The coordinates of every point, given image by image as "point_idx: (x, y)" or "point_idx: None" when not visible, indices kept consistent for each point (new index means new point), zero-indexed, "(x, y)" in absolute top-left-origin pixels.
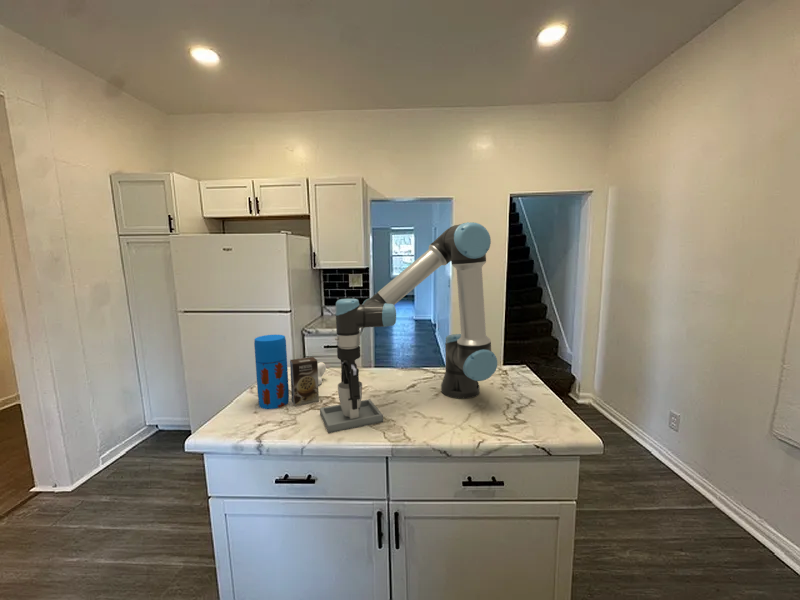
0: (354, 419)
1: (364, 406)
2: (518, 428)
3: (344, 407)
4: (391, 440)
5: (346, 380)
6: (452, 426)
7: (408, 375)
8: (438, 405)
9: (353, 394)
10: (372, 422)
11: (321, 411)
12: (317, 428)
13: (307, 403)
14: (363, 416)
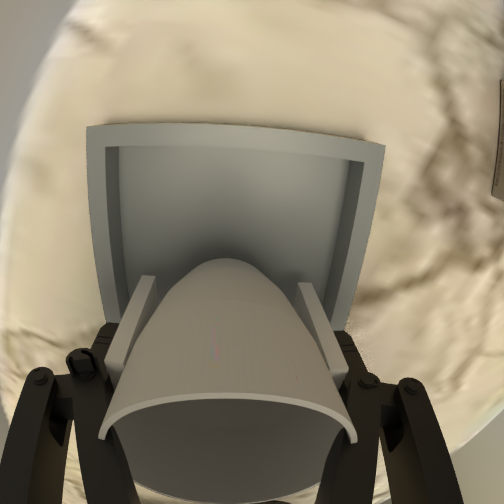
0: (112, 290)
1: None
2: (65, 487)
3: (175, 288)
4: (11, 338)
5: (332, 468)
6: (77, 456)
7: None
8: None
9: (22, 408)
10: None
11: (328, 135)
12: (195, 75)
13: (500, 138)
14: None
